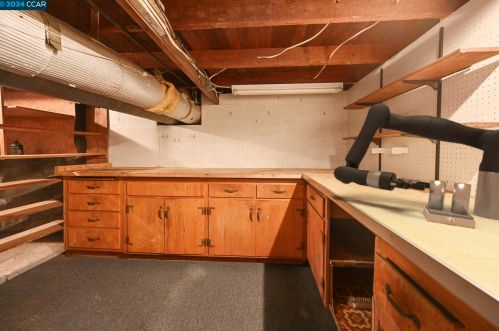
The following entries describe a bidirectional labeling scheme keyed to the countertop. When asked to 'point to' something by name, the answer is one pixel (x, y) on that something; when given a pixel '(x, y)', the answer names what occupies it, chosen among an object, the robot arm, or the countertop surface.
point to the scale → (448, 217)
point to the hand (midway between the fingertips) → (428, 186)
